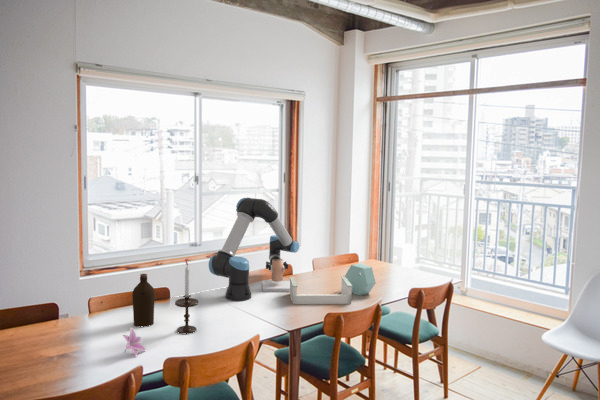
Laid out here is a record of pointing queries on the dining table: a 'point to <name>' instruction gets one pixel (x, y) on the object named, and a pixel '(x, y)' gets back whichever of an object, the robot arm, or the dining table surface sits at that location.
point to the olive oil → (143, 303)
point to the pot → (277, 270)
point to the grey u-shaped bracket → (322, 295)
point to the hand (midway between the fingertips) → (277, 269)
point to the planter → (361, 278)
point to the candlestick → (186, 305)
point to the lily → (133, 342)
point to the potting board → (276, 286)
